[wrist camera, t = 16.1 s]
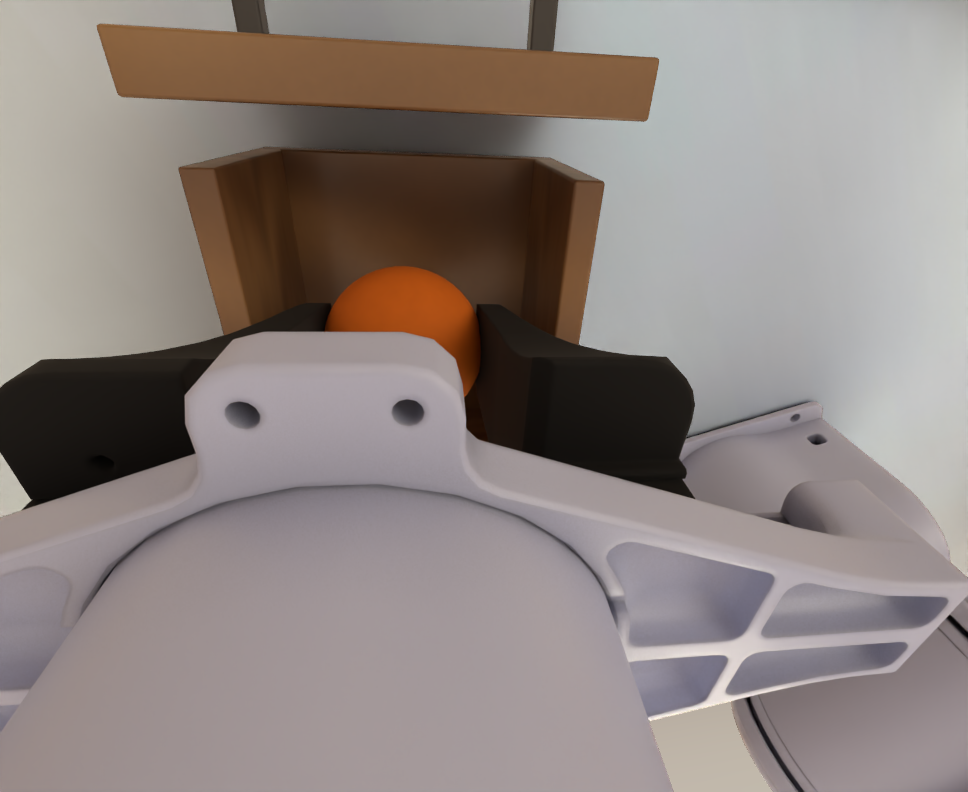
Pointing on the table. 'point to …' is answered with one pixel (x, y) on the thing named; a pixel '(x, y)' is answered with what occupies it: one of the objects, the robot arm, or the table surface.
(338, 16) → the table surface
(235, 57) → the drawer
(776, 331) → the table surface
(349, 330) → the ball
